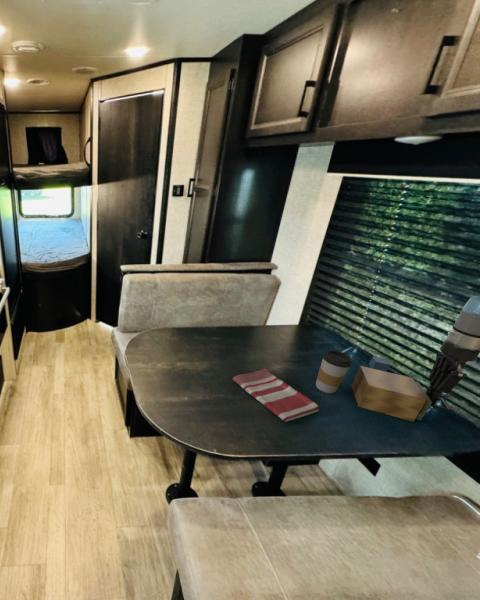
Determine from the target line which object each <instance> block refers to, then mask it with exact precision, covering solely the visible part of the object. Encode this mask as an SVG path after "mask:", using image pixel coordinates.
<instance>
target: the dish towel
mask: <svg viewBox="0 0 480 600" xmlns="http://www.w3.org/2000/svg"><path fill="white" fill-rule="evenodd" d="M232 381H233V382H234V383H235V384H237V385H238V386H239V387H240V388H242V390H244V391H245V392H246V393H248V394H249V395H250V397H252V398H254V399H255V400H257V401H258V402H259V403H260V404H262V405H263V406H264V407H265V408H266V409H267V410H268V411H270V412H271V413H272V414H274V416H276V417H278V418H279V419H280V420H281V421H283V422H284V423H286V422H290V421H294V420H296V419H299V418H302V417H306V416H309V415H311V414H314V413H317V412H319V409H320V406H319V405H318V404H317V403H316V402H314V401H313V400H312V399H311V398H309V397H308V396H307V395H305V394H303V393H301V392H299V391H298V390H296V389H294V388H293V387H292V386H291V385H289V384H287V383H286V382H285V381H284V380H282V379H279V378H278V377H276V376H275V375H274V374H273V373H271V371H269V369H268V368H267V367H265V368H263V369H259V370H256V371H254V372H249V373H241V374H237V375H235V376H233V377H232Z"/></svg>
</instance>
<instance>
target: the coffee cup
mask: <svg viewBox="0 0 480 600" xmlns="http://www.w3.org/2000/svg"><path fill="white" fill-rule="evenodd" d="M352 362H353V361H352V357H351V356H350V355H348V354H346V353H344V352H342V351H340V350H334V349H329V350H327V351H325V352H324V353H323V356H322V359H321V363H320V367H319V370H318V374H317V377H316V382H315V387H316V388H317V389H318V390H319V391H321V392H323V393H325V394H334V393H336V392H337V390H338V389H339V387H340V386H341V384H342V382H343V381H344V378H345V377H346V375H347V373H348V371H349V369H350V368H351V367H352Z"/></svg>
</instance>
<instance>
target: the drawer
mask: <svg viewBox="0 0 480 600" xmlns="http://www.w3.org/2000/svg"><path fill="white" fill-rule="evenodd" d="M415 382H416V384H417V385H418V387H419V388H420V390H421V392H422V393H423V395H424V396H425V398H426V399H427V400H426V402H425V404H424V405H423V407H422V409H421V410H420V412H419V414H418V415H417V417H416V419H415V420H418V421H422V420H423V418H424V417H425V415H426V414H427V412H428V411H429V408H430V407H432V408H435V409H440V410H444V411H446V412H448V413H452V412H453V409H452V407H451V406H450V405H449V404H448V402H447V401H446V399H445V398H443V397H439V398H438V400H437V401H439V402H440V403H441V404H442V406H441V405H437V404H435V405H433V404H431V403H432V402H431V400H430V399H429V397H428V396H427V394H426V391H425V389H424V387H422V385H421V383H420V382H419V381H415Z"/></svg>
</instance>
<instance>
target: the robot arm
mask: <svg viewBox="0 0 480 600" xmlns="http://www.w3.org/2000/svg"><path fill="white" fill-rule="evenodd" d="M439 351H440V352H437V353H436V357H435V360H434V363H433V366H432V368H431V370H430V374H429V376H428V378H427V379H428V381H429V386H428V388H427V390H426V391H425V393H426V394H427V396H428V397H429V399H430V400H431V402H432V403H431V404H433V405H436V403H437V402H438V401H439V400H438V398H441V397H440V396H441V395H442V394H447V395H448V394H449V393H450V392H451V391H452V390H454V388H455V387H456V386H457V385H458V384H459V383H460V382H461V381H462V380H463V379H465V378H467V373H464V372H463V369H465V368H466V367H465V366H466V363H468V362H474V361H477V359H478V357H479V355H480V295H473V296H471V297H470V298H469V299H468V301H466V303H465V305H463V307H462V308H461V311H460V313H459V315H458V317H457V318H456V320H455V323H454V324H453V326H452V328H451V329H450V331H447V336H446V339H445V340H444V341H443V343H442V344H441V346H440V348H439Z"/></svg>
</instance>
